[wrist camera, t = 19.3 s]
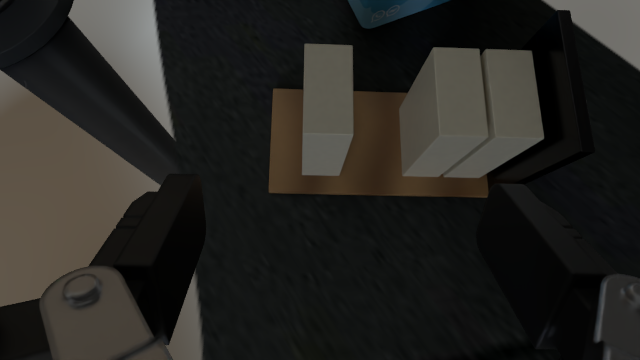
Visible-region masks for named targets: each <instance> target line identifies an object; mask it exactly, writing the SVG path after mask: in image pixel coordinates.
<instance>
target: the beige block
mask: <svg viewBox="0 0 640 360" xmlns="http://www.w3.org/2000/svg"><path fill="white" fill-rule="evenodd" d="M353 135H354V113H353V46H352V45H328V44H305V51H304V95H303V143H302V175H322V176H339V175H340V172H341V169H342V166H343V164H344V161H345V158H346V155H347V152H348V149H349V147H350V144H351V141H352V138H353Z"/></svg>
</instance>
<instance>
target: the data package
mask: <svg viewBox="0 0 640 360" xmlns="http://www.w3.org/2000/svg"><path fill="white" fill-rule="evenodd" d="M448 1H451V0H348V2H349V4H350V6H351V8H352V10H353V11H354V13H355V15H356V17H357V19H358V21H359V23H360V25H361V26H362V27H363V28H367V29H370V28H374V27H377V26H380V25H383V24H386V23H389V22H391V21H394V20H397V19H400V18H403V17H405V16H408V15H411V14H414V13H417V12H420V11H422V10H425V9H428V8H431V7H434V6H436V5H439V4H442V3H445V2H448Z"/></svg>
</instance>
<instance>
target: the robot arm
mask: <svg viewBox="0 0 640 360" xmlns="http://www.w3.org/2000/svg"><path fill="white" fill-rule="evenodd" d="M13 1H14V0H0V13H1V12H3V11H4V10H5V9H6V8H7V7H8V6H9V5H11V3H12V2H13ZM205 235H206V220H205V211H204V203H203V195H202V186H201V180H200V177H199V175H197V174H169V175H168V176H167V177H166V179H165V180H164V182H163V184H162V185H161V187H160V189H159V191H158V192H146V193H145V194H144V195H142V196H141V197H139V198H138V199H136V200H135V201H134V202H132V203H131V205H130V206H129V208H128V209H127V211H126V212H125V214H124V216H123V218H121V220H120V221H119V222H118V224H117V225H116V229H114V230H113V231H112V233H111V234H110V236H109V237H108V238H107V240H106V241H105V243H104V244H103V246H102V247H101V249H100V250H99V252H98V253H97V254H96V256H95V257H94V259H93V260H92V262H91V263H90V265H89V266H88V267H84V268H80V269H77V270H74V271H72V272H69V273H67V274H65V275H63V276H62V277H60V278H59V279H57V280H56V281H55V282H53V283H52V284H51V285H50V286H49V287H48V288H47V289H46V290H45V292H44V293H43V294H42V296H41V298H39V299H35V300H30V301H25V302H21V303H16V304H12V305H7V306H2V307H0V360H173V359H172V357H171V355H170V353H169V351H168V350H167V348H166V346H165V345H169V343H170V340H171V337H172V334H173V331H174V328H175V326H176V323H177V320H178V317H179V314H180V311H181V308H182V306H183V303H184V300H185V297H186V294H187V291H188V288H189V285H190V283H191V279H192V277H193V274H194V271H195V268H196V265H197V262H198V260H199V257H200V254H201V251H202V248H203V245H204V241H205ZM477 245H478V248H479V251H480V253H481V254H482V256H483V258H484V260H485V261H486V263H487V265H488V267H489V268H490V270H491V272H492V274H493V275H494V277H495V279H496V281H497V282H498V284H499V286H500V288H501V290H502V291H503V293H504V295H505V297H506V298H507V300H508V302H509V304H510V305H511V307H512V309H513V311H514V312H515V314H516V316H517V318H518V319H519V321H520V323H521V325H522V326H523V328H524V330H525V332H526V333H527V335H528V337H529V339H530V340H531V342H532V344H533V346H534V348H535V349H558V351H559V353H560V354H561V356H560V358H559V360H640V279H639V278H636V277H633V276H629V275H622V274H617V273H616V272H615V270H614V269H613V268H612V267H611V266H610V265H609V264H608V263H607V262H606V261H605V260H604V259H603V258H602V257H601V256H600V255H599V254H598V253H597V252H596V251H595V249H594V248H593V247H592V246H591V245H590V244H589V243H588V242H587V241H586V240H583V239H582V236H581V235H580V234H579V233H578V232H577V231H576V230H575V229H572V225H571V224H570V223H569V222H568V221H567V220H566V219H565V218H564V217H563V216H562V215H561V214H560V213H559V212H557V211H555V210H554V209H552V208H551V207H549V206H547V205H546V204H544V203H543V202H540V201H539V200H538V198H537V197H536V196H535V195H534V194H533V193H532V192H531V191H530V190H529V189H528V188H527V187H526V186H525V185H523V184H494V185H492V187H491V188H490V190H489V193H488V196H487V199H486V203H485V206H484V209H483V212H482V216H481V219H480V222H479V225H478V229H477Z"/></svg>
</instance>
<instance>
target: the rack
mask: <svg viewBox="0 0 640 360" xmlns="http://www.w3.org/2000/svg"><path fill="white" fill-rule="evenodd" d="M303 95H304V90H300V89H273V104H272V126H271V149H270V171H269V193H284V194H332V195H381V196H429V197H478V198H487V196H488V193H489V190H490V188H491V187H492V185H494V184H523V185H524V184H526V183H528V182H530V181H532V180H535V179H537V178H539V177H541V176H543V175H546V174H548V173H550V172H552V171H554V170H557V169H559V168H561V167H563V166H565V165H568V164H570V163H572V162H574V161H576V160H579V159H581V158H583V157H585V156H587V155H590V154H592V153H594V152H595V148H594V142H593V137H592V131H591V125H590V120H589V114H588V109H587V103H586V97H585V92H584V86H583V81H582V75H581V69H580V64H579V58H578V53H577V47H576V41H575V36H574V30H573V25H572V19H571V14H570V11H569V10H568V11H567V10H557V11H556V12H555V13H554V14H553V16H552V17H551V18H550V19H549V20H548V21H547V22H546V23H545V24H544V25H543V26H542V27H541V28H540V30H539V31H538V32H537V33H536V34H535V35H534V36H533V37H532V38H531V39H530V40H529V41H528V42H527V43H526V45H525V46H524V47H523V48H522V49H521V50H498V49H486V50H485V51H484V52H483V54H482V55H481V56H480V50H479V49H469V48H442V47H433V49H432V51H431V52H430V54H429V56H428V58H427V60H426V61H425V63H424V65H423V67H422V68H421V70H420V72H419V74H418V76H417V77H416V79H415V81H414V83H413V85H412V86H411V88H410V90H409V92H408V93H394V92H363V91H353V113H354V135H353V138H352V141H351V144H350V147H349V149H348V152H347V155H346V158H345V161H344V164H343V166H342V169H341V172H340V175H339V176H322V175H302V143H303Z"/></svg>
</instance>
